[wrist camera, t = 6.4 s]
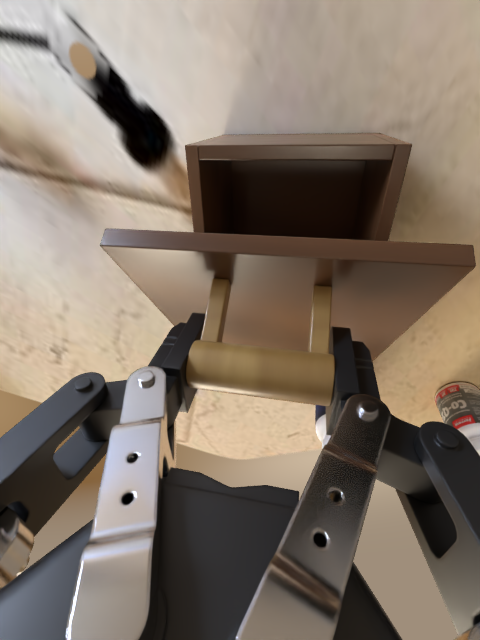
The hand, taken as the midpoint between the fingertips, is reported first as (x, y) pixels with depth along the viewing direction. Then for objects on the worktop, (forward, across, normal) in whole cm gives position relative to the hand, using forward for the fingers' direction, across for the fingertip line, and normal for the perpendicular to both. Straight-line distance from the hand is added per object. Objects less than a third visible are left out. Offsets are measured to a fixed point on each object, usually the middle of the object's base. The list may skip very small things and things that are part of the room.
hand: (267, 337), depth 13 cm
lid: (+5, 0, +2) cm, 5 cm away
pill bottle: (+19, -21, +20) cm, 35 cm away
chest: (+19, 0, +2) cm, 19 cm away
